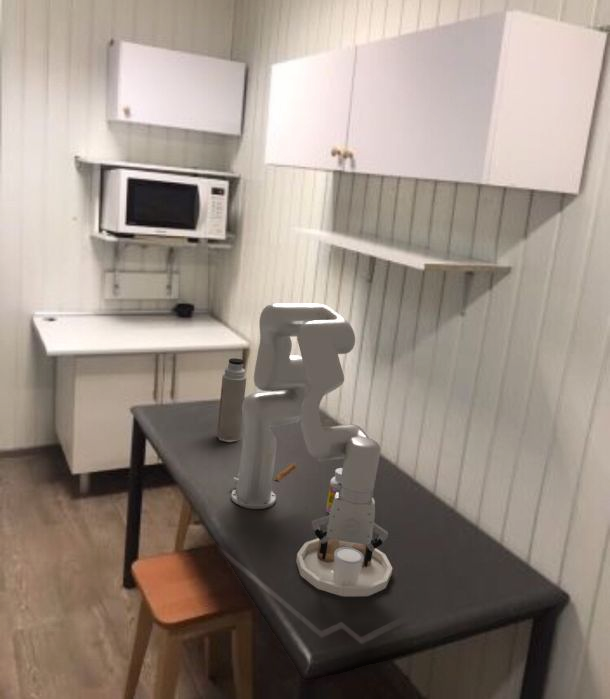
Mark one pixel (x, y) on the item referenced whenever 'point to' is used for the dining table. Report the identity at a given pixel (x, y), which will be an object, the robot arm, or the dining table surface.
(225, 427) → the thermos bottle
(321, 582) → the tray
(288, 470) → the chocolate bar
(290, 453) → the dining table surface
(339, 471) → the supplement bottle
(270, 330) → the robot arm
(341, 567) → the white rimmed cylinder
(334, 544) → the bead
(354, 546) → the bead
